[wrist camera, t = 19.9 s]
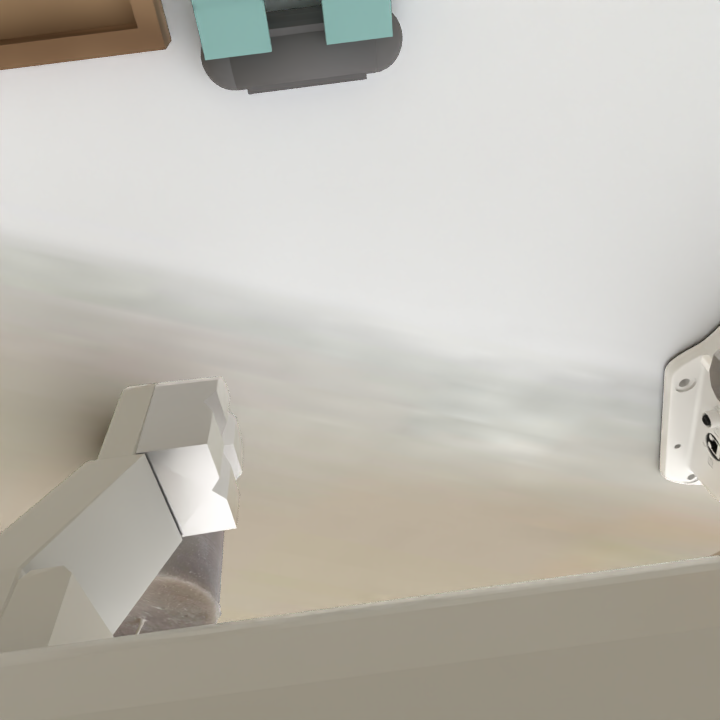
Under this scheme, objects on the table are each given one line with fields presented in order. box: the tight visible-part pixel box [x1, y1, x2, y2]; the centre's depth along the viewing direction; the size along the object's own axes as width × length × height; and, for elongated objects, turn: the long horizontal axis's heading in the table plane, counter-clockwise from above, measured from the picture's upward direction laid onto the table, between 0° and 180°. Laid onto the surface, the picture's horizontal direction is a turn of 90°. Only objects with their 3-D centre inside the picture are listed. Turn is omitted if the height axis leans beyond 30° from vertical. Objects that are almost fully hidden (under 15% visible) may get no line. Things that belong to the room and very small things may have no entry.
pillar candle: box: [113, 530, 224, 637], centre depth 43 cm, size 10×10×15 cm
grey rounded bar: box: [201, 6, 402, 94], centre depth 30 cm, size 10×3×3 cm, turn 95°
